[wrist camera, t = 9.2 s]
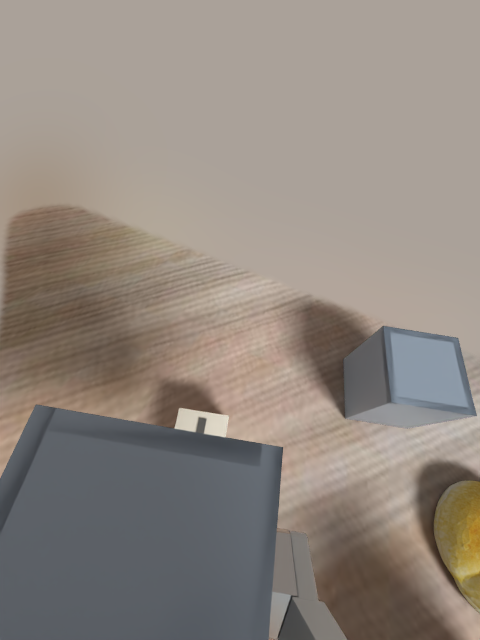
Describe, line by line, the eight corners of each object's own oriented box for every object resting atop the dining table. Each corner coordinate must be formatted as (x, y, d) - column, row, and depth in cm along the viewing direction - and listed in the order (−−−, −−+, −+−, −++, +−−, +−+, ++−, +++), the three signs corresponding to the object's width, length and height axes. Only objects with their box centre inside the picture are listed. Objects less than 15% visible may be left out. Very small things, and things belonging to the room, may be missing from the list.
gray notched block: (399, 368, 29) (458, 337, 22) (407, 428, 27) (476, 416, 19) (343, 359, 29) (383, 325, 22) (345, 418, 27) (391, 402, 19)
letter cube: (227, 421, 26) (229, 414, 22) (219, 470, 24) (220, 472, 20) (185, 414, 26) (179, 406, 22) (173, 463, 24) (165, 463, 20)
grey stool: (248, 455, 14) (283, 447, 7) (227, 622, 11) (247, 911, 4) (128, 434, 14) (36, 404, 7) (77, 595, 11) (-172, 835, 4)
